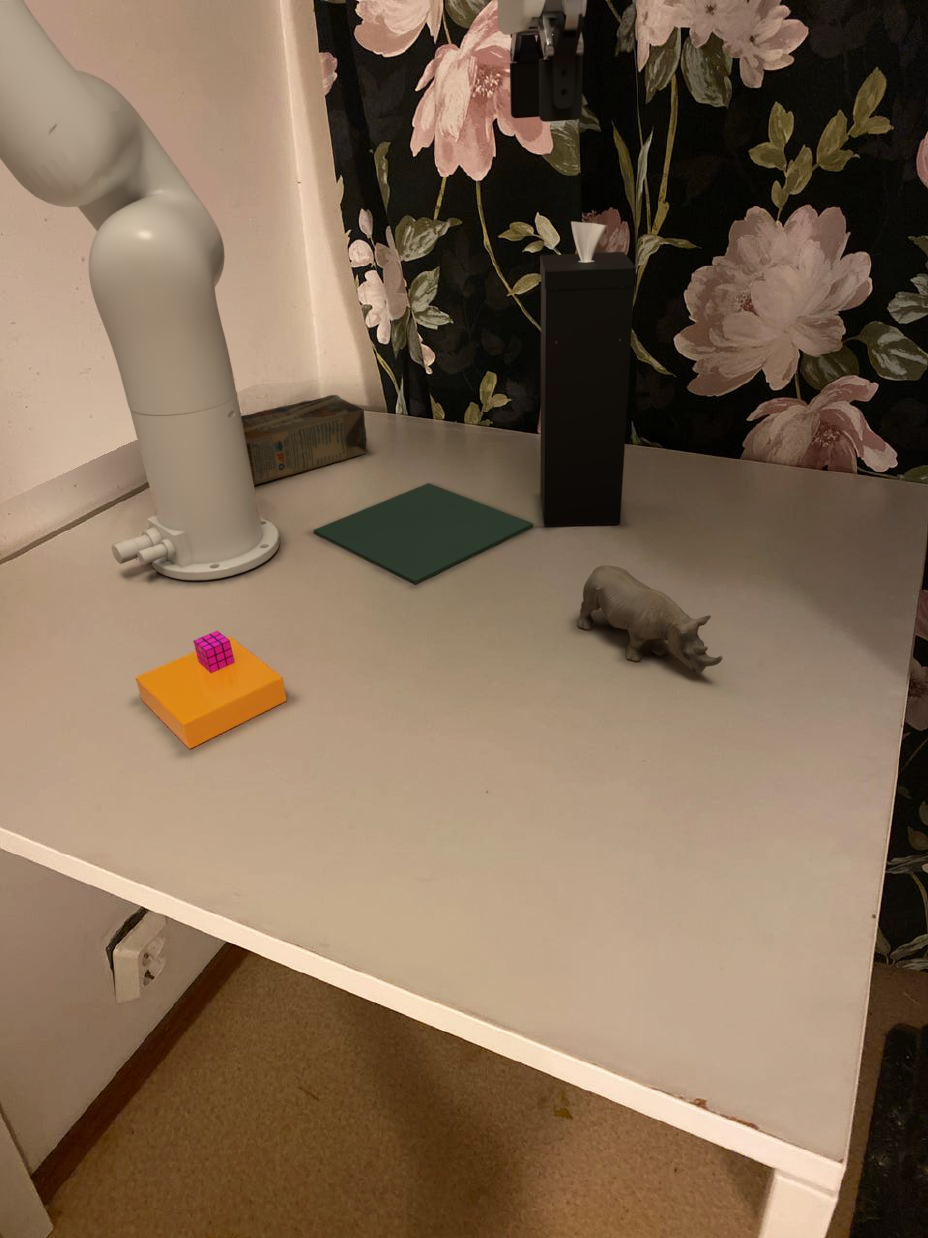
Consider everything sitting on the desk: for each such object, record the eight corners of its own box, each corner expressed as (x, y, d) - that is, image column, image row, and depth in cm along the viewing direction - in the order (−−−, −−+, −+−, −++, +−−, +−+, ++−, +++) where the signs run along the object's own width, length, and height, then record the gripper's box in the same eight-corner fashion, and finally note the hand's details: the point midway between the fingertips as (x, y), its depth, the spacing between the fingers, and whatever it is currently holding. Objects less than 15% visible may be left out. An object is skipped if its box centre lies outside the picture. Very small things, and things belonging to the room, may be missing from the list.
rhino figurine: (696, 704, 63) (704, 635, 59) (567, 626, 72) (569, 563, 69) (733, 683, 65) (743, 614, 61) (603, 610, 74) (606, 547, 71)
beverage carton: (371, 454, 108) (366, 402, 104) (228, 497, 98) (216, 441, 95) (339, 437, 113) (333, 388, 110) (200, 477, 104) (189, 424, 100)
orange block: (287, 701, 65) (278, 654, 63) (189, 750, 61) (176, 701, 58) (235, 658, 70) (225, 613, 68) (141, 700, 66) (128, 654, 64)
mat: (415, 584, 79) (415, 580, 79) (313, 533, 89) (313, 529, 89) (533, 526, 88) (533, 523, 88) (428, 486, 98) (428, 482, 98)
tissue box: (620, 525, 88) (638, 225, 73) (543, 528, 88) (545, 229, 73) (611, 494, 94) (625, 213, 80) (539, 496, 95) (540, 216, 80)
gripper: (469, -133, 68) (478, 118, 77) (520, -193, 53) (524, 125, 62) (561, -136, 69) (560, 113, 78) (636, -196, 54) (623, 118, 63)
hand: (544, 118), depth 70 cm, fingers open, 9 cm apart
